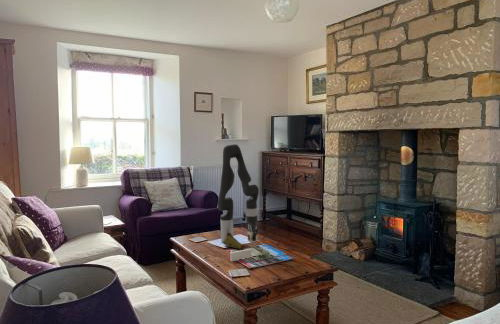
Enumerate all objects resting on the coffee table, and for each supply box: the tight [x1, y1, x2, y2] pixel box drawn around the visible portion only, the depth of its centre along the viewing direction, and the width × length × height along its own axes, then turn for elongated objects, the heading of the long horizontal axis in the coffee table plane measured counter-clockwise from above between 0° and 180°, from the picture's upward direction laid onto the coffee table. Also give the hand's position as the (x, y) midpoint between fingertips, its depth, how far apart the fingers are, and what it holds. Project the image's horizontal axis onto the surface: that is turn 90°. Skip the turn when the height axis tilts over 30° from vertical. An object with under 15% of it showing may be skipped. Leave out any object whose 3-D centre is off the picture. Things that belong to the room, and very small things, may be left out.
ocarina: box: [222, 233, 245, 250], centre depth 251 cm, size 20×5×10 cm, turn 50°
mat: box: [243, 247, 264, 257], centre depth 240 cm, size 16×7×1 cm, turn 24°
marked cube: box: [247, 231, 258, 243], centre depth 239 cm, size 5×5×6 cm
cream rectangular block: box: [229, 248, 252, 262], centre depth 228 cm, size 2×14×6 cm, turn 114°
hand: (252, 239), depth 239 cm, fingers closed on marked cube, 5 cm apart
